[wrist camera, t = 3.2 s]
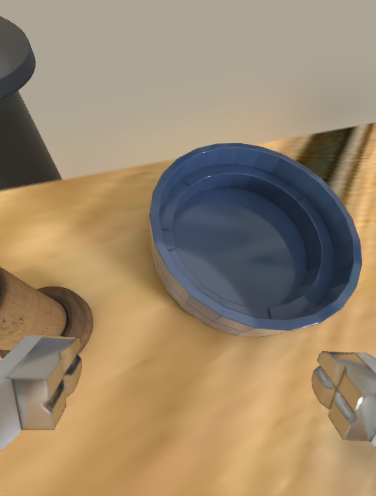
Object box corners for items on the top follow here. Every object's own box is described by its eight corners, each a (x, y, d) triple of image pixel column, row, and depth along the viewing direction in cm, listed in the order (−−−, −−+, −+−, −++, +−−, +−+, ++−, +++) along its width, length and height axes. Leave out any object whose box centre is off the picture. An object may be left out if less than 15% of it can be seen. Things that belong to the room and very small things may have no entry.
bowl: (113, 231, 25) (102, 197, 20) (231, 159, 33) (247, 121, 28) (247, 388, 20) (282, 398, 15) (348, 257, 28) (393, 233, 23)
